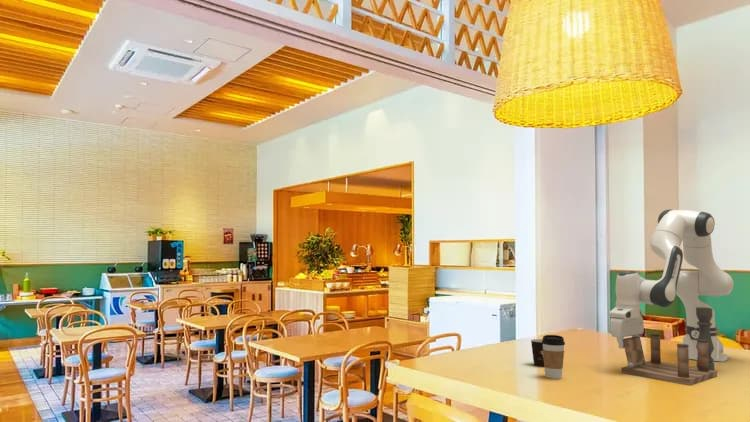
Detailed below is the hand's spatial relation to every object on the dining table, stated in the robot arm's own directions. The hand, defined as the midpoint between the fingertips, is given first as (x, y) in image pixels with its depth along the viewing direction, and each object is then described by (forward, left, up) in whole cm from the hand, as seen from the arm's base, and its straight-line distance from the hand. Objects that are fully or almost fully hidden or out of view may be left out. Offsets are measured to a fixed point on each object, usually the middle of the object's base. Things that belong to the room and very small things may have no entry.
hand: (627, 347), depth 223 cm
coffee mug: (+18, -25, -10) cm, 33 cm away
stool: (-7, +13, -9) cm, 17 cm away
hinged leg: (0, +4, -6) cm, 7 cm away
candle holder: (-26, +19, -10) cm, 33 cm away
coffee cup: (+34, -11, -10) cm, 37 cm away
